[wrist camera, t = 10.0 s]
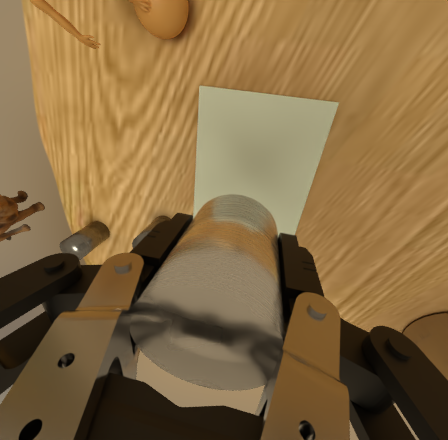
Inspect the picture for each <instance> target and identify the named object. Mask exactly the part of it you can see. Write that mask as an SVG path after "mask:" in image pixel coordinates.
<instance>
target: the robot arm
mask: <svg viewBox="0 0 448 440" xmlns="http://www.w3.org/2000/svg"><path fill="white" fill-rule="evenodd" d="M192 220H193V216H192V215H188V214H183V213H177V214H176V215H175V216H174V217H173V218H172V219H171V220H170V221H168V220H165V221H163V222H161V223H159V224H157V225H156V226H155V227H154V228H153V229H152V230H151V231H150V232H149V233H148V234H147V236H145V237H144V238H143V239H142V240H141V241H140V242H139V243H138V244H137V245H136V246H135V248H134V249H133V250H132V251H131V252H130V253H121V254H117V255H114V256H112V257H110V258H109V259H107V260H106V261H105V262H104V263H103V265H80V261H79V258H78V257H77V256H76V255H74V254H71V253H59V254H54V255H50V256H47V257H45V258H43V259H40V260H38V261H36V262H34V263H32V264H30V265H27V266H25V267H23V268H21V269H19V270H17V271H14V272H13V273H11V274H8V275H6V276H4V277H2V278H0V329H1V328H2V327H4V326H6V325H7V324H9V323H11V322H12V321H14V320H15V319H17V318H19V317H20V316H22V315H24V314H25V313H27V312H28V311H30V310H32V309H33V308H35V307H37V306H38V305H40V304H42V305H43V307H44V309H45V312H43V313H42V314H40V315H39V316H37V317H36V318H34V319H33V320H31V321H30V322H28V323H26V324H25V325H23V326H22V327H20V328H18V329H17V330H15V331H14V332H12V333H11V334H9V335H8V336H6V337H5V338H3V339H1V340H0V394H1V393H3V392H4V391H5V390H6V389H8V388H9V387H10V386H11V385H13V386H12V388H11V389H10V391H9V392H8V394H7V395H6V397H5V398H4V400H3V401H2V403H1V404H0V440H350V431H349V429H350V427H349V426H350V424H349V420H350V422H351V424H352V426H353V428H354V430H355V432H356V434H357V437H358V439H359V440H416V439H415V438H414V436H413V435H412V434H411V432H410V430H409V429H408V427H407V425H406V424H405V422H404V421H403V419H402V417H401V416H400V414H399V413H398V411H397V410H396V408H395V406H394V405H393V404H394V403H396V404H397V406H398V408H399V409H400V411H401V412H402V414H403V415H404V417H405V418H406V420H407V421H408V423H409V424H410V426H411V428H412V429H413V431H414V432H415V434H416V435H417V437H418V438H419V440H448V313H442V314H435V315H431V316H427V317H424V318H422V319H419V320H417V321H415V322H414V323H412V324H410V325H409V326H408V327H407V328H406V329H405V331H404V332H403V334H402V333H400V332H398V331H396V330H394V329H392V328H389V327H385V326H376V327H374V328H373V329H372V330H371V331H370V332H367V331H365V330H363V329H360V328H358V327H356V326H354V325H352V324H350V323H348V322H346V321H345V320H343V319H342V318H340V315H339V312H338V310H337V309H336V307H335V306H334V305H333V304H332V303H331V302H330V301H329V300H327V299H326V298H325V297H324V294H323V290H322V287H321V284H320V280H319V277H318V273H317V272H316V271H317V270H316V267H315V265H314V264H315V263H314V260H313V257H312V255H311V254H310V252H309V251H308V250H307V249H306V248H303V247H299V246H298V241H297V237H296V235H291V234H285V233H280V234H279V236H278V246H279V260H280V275H281V289H282V303H283V318H284V332H285V335H284V342H283V345H282V348H281V350H280V353H279V357H278V360H277V363H276V366H275V369H274V371H273V374H272V376H271V378H270V381H268V380H267V382H266V385H265V387H264V390H263V393H262V397H261V399H260V402H259V405H258V408H257V410H256V413H255V415H254V414H251V413H247V412H243V411H240V410H237V409H234V408H230V407H226V406H204V407H179V406H177V405H175V404H174V403H172V402H171V401H170V400H168V399H167V398H166V397H164V396H163V395H162V394H160V393H159V392H157V391H156V390H155V389H153V388H152V387H150V386H149V385H148V384H146V383H144V382H141V381H138V380H136V374H137V362H138V356H139V352H140V349H139V348H138V345H136V343H135V342H134V340H133V338H132V336H131V333H130V322H131V318H132V314H133V310H132V308H133V306H134V305H135V303H136V302H137V300H138V299H139V297H140V296H141V294H142V293H143V291H144V290H145V289H146V287H147V286H148V284H149V283H150V281H151V280H152V278H153V277H154V275H155V274H156V273H157V271H158V270H159V268H160V267H161V265H162V264H163V262H164V261H165V259H166V258H167V257H168V255H169V254H170V252H171V251H172V249H173V248H174V246H175V245H176V243H177V242H178V241H179V239H180V238H181V236H182V235H183V233H184V232H185V230H186V229H187V227H188V226H189V225H190V223H191V222H192Z"/></svg>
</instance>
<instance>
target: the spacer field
mask: <svg viewBox="0 0 448 440" xmlns="http://www.w3.org/2000/svg"><path fill="white" fill-rule="evenodd" d="M165 220H168V221H170V220H171V219H170V218H168V217H166V216H159V217H157V218H156V219H155V220H154V221H153V222H152V223H151V224H150V225H149V226H148V227H146V228H145V229H144V230H143V231H142V232H141V233H140V234H139V235H138V236H137V237H136V238H135V239H134V240H133V243H132V246H133V249H134V248H135V246H136V245H137V244H138V243H139V242H140V241H141V240H142V239H143V238H144V237H145V236H147V234H148V233H149V232H150V231H151V230H152V229H153V228H154V227H155V226H156V225H157V224H159V223H161V222H163V221H165ZM108 237H109V230H108V228H107V227H106V226H105V225H104V224H103V223H101V222H98V221H94V222H92V223H90V224H89V225H87V226H86V227H84V228H82V229H81V230H79V231H78V232H76V233H74V234H73V235H71V236H70V237H68V238H67V239H65V240H63V241H62V242H61V243H60V249H61V251H62V252H63V253H71V254H74V255H76V256H77V257H78V258H79V260H81V259H82V258H83V257H84V256H86V255H87V254H88V253H89V252H91V251H92V250H93V249H94V248H96V247H97V246H98V245H99V244H101V243H102V242H103V241H105V240H106V239H107V238H108Z"/></svg>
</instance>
